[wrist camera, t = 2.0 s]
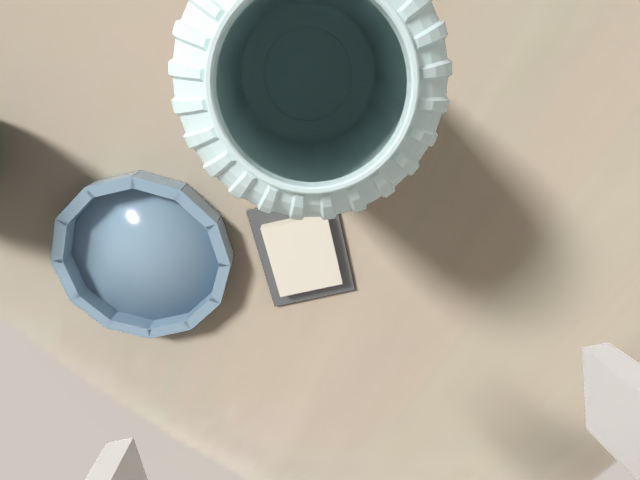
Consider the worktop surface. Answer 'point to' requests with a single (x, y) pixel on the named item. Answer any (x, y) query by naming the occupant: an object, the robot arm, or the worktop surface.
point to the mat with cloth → (301, 256)
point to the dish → (142, 254)
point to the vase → (310, 97)
